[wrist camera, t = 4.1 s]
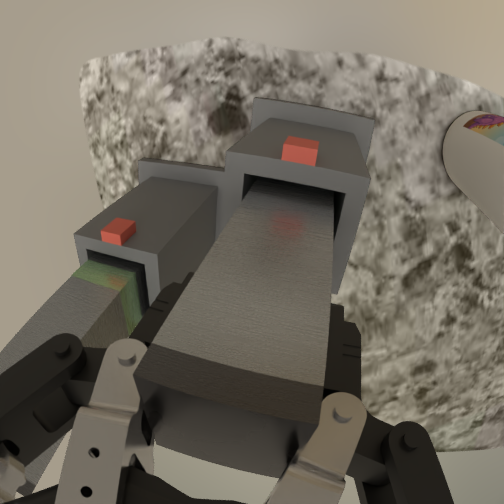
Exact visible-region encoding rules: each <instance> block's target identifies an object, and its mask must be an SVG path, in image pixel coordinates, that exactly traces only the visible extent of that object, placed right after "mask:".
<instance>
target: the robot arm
mask: <svg viewBox="0 0 504 504" xmlns="http://www.w3.org/2000/svg"><path fill="white" fill-rule="evenodd" d="M194 274H195V273H194V272H189V273H188V274H187V276H186V277H185V279H184V280H183V282H182V284H180V283H176V282H172V283H171V284H169V285H168V286H166V287H165V288H163V289H162V290H161V291H160V293H159V294H158V296H157V297H156V299H155V301H153V303H152V304H151V306H150V308H149V309H148V310H147V311H146V313H145V314H144V316H143V317H142V319H141V320H140V321H139V323H138V324H137V326H136V327H135V329H134V330H133V332H132V333H131V335H130V336H129V338H127V339H121V340H118V341H116V342H114V343H112V344H111V345H110V346H109V347H108V348H93V347H83V345H82V342H81V340H80V339H79V338H78V337H77V336H75V335H74V334H70V333H61V334H58V335H55V336H53V337H52V338H50V339H49V340H47V341H46V342H45V343H43V344H42V345H40V346H39V347H38V348H36V349H35V350H33V351H32V352H31V353H29V354H28V355H26V356H25V357H24V358H22V359H21V360H19V361H18V362H17V363H15V364H14V365H12V366H11V367H10V368H8V369H7V370H6V371H4V372H3V373H1V374H0V504H246V503H241V502H237V501H232V500H230V501H229V500H209V499H195V498H191V497H189V496H187V495H185V494H184V493H182V492H181V491H179V490H177V489H176V488H174V487H172V486H171V485H169V484H168V483H166V482H165V481H163V480H162V479H160V478H159V477H156V476H154V475H153V473H154V458H153V446H154V439H155V434H154V431H153V429H151V428H150V425H149V423H148V420H147V417H146V414H145V411H144V408H143V407H144V402H143V399H142V396H141V394H139V393H138V390H137V387H136V384H135V381H134V378H133V373H134V371H135V369H136V368H137V366H138V364H139V363H140V361H141V359H142V358H143V356H144V354H145V353H146V351H147V349H148V348H149V346H150V345H151V343H152V341H153V340H154V338H155V336H156V335H157V333H158V331H159V330H160V328H161V327H162V325H163V323H164V322H165V320H166V318H167V317H168V315H169V314H170V312H171V310H172V309H173V307H174V306H175V304H176V302H177V301H178V299H179V298H180V296H181V294H182V293H183V291H184V290H185V288H186V286H187V285H188V283H189V282H190V280H191V279H192V277H193V275H194ZM71 429H72V432H71V436H70V439H69V444H68V447H67V451H66V455H65V459H64V463H63V467H62V472H61V477H60V481H59V484H57V485H55V486H52V487H49V488H47V489H44V490H41V491H39V492H36V493H33V494H30V495H27V496H24V497H21V498H18V499H15V493H16V490H17V489H18V487H19V486H23V485H24V484H25V482H26V476H25V467H26V466H27V465H29V464H30V463H31V462H32V461H33V460H35V459H36V458H37V457H38V456H40V455H41V454H42V453H43V452H44V451H46V450H47V449H48V448H49V447H50V446H52V445H53V444H54V443H55V442H56V441H58V440H59V439H60V438H61V437H62V436H64V435H65V434H66V433H67V432H68V431H70V430H71ZM345 474H346V475H348V476H351V477H353V478H354V480H355V484H356V488H357V492H358V496H359V500H360V503H361V504H454V502H453V499H452V496H451V493H450V490H449V488H448V485H447V482H446V479H445V476H444V473H443V471H442V468H441V465H440V462H439V460H438V457H437V455H436V452H435V449H434V447H433V444H432V442H431V439H430V437H429V434H428V432H427V431H426V430H425V429H424V428H423V427H422V426H421V425H419V424H418V423H415V422H411V421H405V422H401V423H399V424H397V425H396V426H392V425H390V424H388V423H385V422H383V421H381V420H379V419H377V418H375V417H373V416H372V415H371V414H370V413H369V412H368V411H367V410H366V408H365V406H364V404H363V403H362V400H361V334H360V332H359V330H358V328H357V326H356V324H355V323H351V322H346V321H344V306H342V305H337V304H332V303H331V306H330V321H329V334H328V347H327V358H326V369H325V379H324V388H323V397H322V405H321V413H320V421H319V426H318V427H317V429H316V430H315V432H314V434H313V435H312V437H311V438H310V440H306V439H303V441H302V442H301V444H300V446H299V447H298V449H297V451H296V453H295V455H294V457H293V459H292V460H291V462H290V464H289V466H287V467H286V468H285V470H284V471H283V473H282V475H281V476H280V478H279V480H278V482H277V483H276V485H275V487H274V488H273V490H272V491H271V493H270V494H269V496H268V498H267V499H266V501H265V503H264V504H338V502H339V500H340V497H341V495H342V493H343V491H344V488H345V480H344V477H345Z"/></svg>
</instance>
